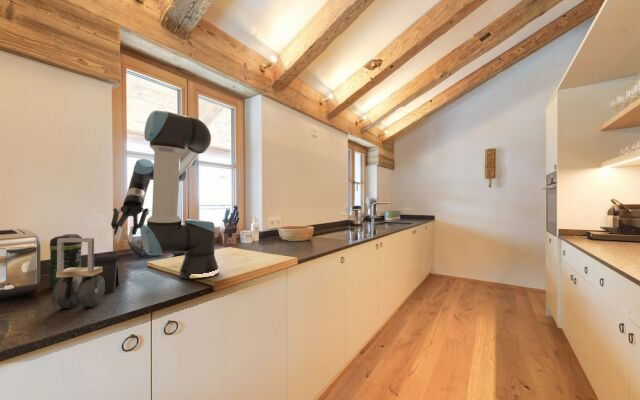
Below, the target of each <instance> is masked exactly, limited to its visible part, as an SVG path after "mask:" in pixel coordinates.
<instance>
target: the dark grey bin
mask: <svg viewBox="0 0 640 400" xmlns="http://www.w3.org/2000/svg"><path fill="white" fill-rule="evenodd" d="M94 267H103V272H101V273H98V274H96V275H101V276H102V277H103V278H104V281H105V291H104V294H108V293H109V294H110V293H115V292H116V290H117V289H118V288H119V287H120V285H121V278H120V268H119V267H120V266H119V255H118V254H106V255H97V256H94Z"/></svg>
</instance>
